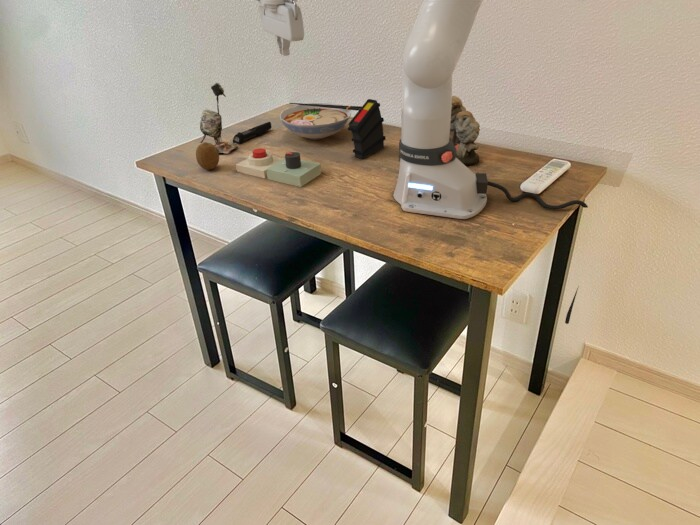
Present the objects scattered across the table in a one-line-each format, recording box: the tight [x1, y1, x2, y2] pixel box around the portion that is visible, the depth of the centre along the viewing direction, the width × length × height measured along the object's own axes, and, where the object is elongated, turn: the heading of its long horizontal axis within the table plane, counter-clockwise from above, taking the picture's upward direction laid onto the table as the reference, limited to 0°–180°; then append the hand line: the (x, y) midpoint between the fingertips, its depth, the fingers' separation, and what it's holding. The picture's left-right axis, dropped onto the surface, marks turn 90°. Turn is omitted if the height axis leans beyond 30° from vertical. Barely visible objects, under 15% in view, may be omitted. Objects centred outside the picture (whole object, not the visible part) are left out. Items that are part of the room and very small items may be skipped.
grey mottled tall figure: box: [199, 82, 238, 154], centre depth 154 cm, size 8×11×20 cm
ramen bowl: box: [278, 102, 363, 141], centre depth 165 cm, size 25×23×8 cm
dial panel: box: [266, 158, 322, 188], centre depth 140 cm, size 11×10×3 cm
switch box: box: [235, 150, 284, 179], centre depth 145 cm, size 10×10×4 cm
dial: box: [284, 151, 302, 169], centre depth 138 cm, size 4×4×4 cm
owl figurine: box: [449, 95, 481, 167], centre depth 144 cm, size 18×12×17 cm, turn 58°
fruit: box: [195, 141, 220, 171], centre depth 145 cm, size 6×6×8 cm
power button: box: [252, 147, 267, 158], centre depth 144 cm, size 4×4×2 cm
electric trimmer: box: [232, 121, 272, 145], centre depth 168 cm, size 4×16×3 cm, turn 143°
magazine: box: [347, 98, 387, 160], centre depth 150 cm, size 4×13×15 cm, turn 142°
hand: (284, 54), depth 134 cm, fingers closed
